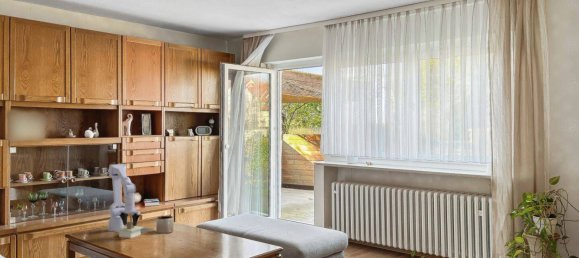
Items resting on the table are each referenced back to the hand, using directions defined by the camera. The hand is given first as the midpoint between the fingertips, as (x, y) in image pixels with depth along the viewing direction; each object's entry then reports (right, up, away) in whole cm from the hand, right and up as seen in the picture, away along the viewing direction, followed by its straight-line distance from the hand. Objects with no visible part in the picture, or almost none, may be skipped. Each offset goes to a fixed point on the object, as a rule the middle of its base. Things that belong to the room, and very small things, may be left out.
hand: (129, 225), depth 280 cm
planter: (+19, -7, +12) cm, 23 cm away
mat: (+2, -7, +15) cm, 17 cm away
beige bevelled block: (0, -7, 0) cm, 7 cm away
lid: (0, -3, +1) cm, 3 cm away
